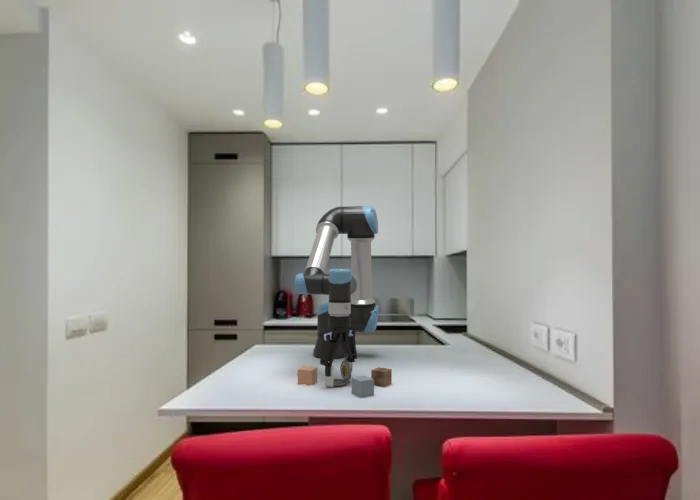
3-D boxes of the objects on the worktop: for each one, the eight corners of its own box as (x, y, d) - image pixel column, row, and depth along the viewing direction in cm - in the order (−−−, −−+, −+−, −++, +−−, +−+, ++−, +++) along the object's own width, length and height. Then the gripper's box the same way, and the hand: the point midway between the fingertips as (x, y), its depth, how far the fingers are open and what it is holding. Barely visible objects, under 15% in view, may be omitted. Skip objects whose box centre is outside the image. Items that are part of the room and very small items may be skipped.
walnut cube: (371, 385, 150) (371, 370, 150) (378, 381, 154) (378, 367, 154) (384, 387, 147) (384, 372, 147) (391, 384, 151) (391, 369, 151)
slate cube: (351, 393, 140) (351, 377, 140) (364, 391, 142) (365, 375, 142) (360, 398, 135) (360, 381, 136) (374, 395, 138) (374, 379, 138)
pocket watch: (322, 385, 148) (322, 355, 148) (335, 379, 156) (335, 350, 156) (344, 389, 144) (344, 357, 145) (356, 382, 152) (356, 353, 152)
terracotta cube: (297, 384, 150) (297, 369, 150) (303, 380, 155) (303, 366, 155) (311, 385, 148) (311, 370, 148) (317, 381, 153) (317, 367, 153)
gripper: (325, 318, 140) (324, 392, 139) (368, 313, 156) (367, 379, 155) (308, 316, 145) (308, 387, 145) (352, 311, 161) (351, 376, 160)
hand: (338, 383), depth 150 cm, fingers closed on pocket watch, 8 cm apart
